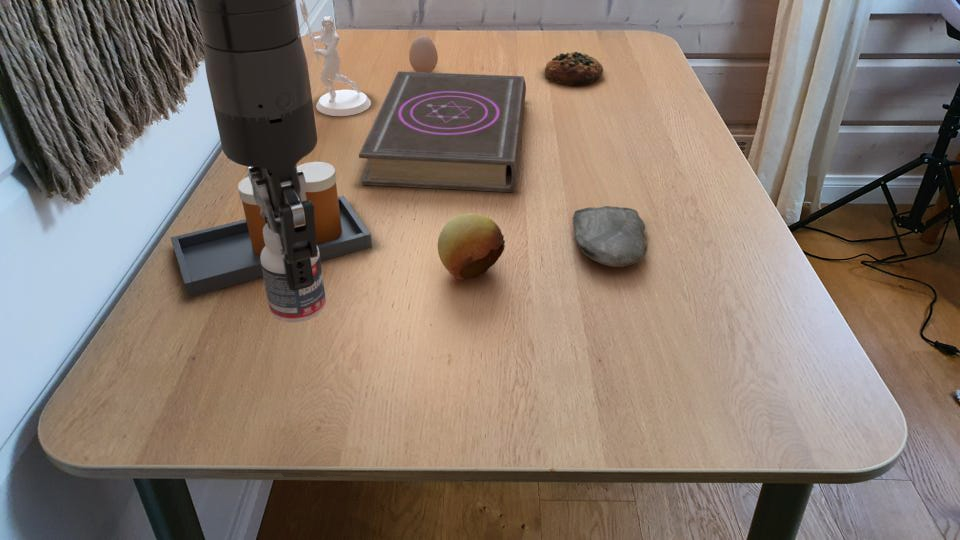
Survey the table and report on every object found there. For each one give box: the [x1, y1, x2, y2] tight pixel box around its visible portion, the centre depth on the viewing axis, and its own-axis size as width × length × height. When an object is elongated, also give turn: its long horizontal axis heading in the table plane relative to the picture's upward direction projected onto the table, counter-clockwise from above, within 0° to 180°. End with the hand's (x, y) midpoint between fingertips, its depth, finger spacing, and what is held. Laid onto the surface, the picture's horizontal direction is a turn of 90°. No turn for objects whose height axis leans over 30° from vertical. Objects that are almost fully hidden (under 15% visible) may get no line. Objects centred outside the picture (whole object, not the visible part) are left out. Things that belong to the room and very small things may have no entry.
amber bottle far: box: [297, 161, 342, 243], centre depth 93 cm, size 5×5×9 cm
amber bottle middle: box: [237, 175, 267, 256], centre depth 90 cm, size 5×5×9 cm
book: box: [358, 70, 527, 193], centre depth 116 cm, size 30×22×5 cm
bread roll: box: [544, 51, 604, 87], centre depth 138 cm, size 11×11×5 cm
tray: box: [170, 195, 373, 298], centre depth 93 cm, size 23×11×2 cm, turn 117°
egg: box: [408, 34, 439, 73], centre depth 137 cm, size 5×5×7 cm
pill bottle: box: [260, 218, 327, 323], centre depth 67 cm, size 5×5×9 cm
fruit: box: [437, 212, 506, 281], centre depth 87 cm, size 8×8×8 cm
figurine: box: [299, 0, 372, 117], centre depth 123 cm, size 10×10×18 cm
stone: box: [572, 205, 648, 268], centre depth 93 cm, size 13×9×3 cm
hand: (292, 268), depth 67 cm, fingers closed on pill bottle, 5 cm apart
